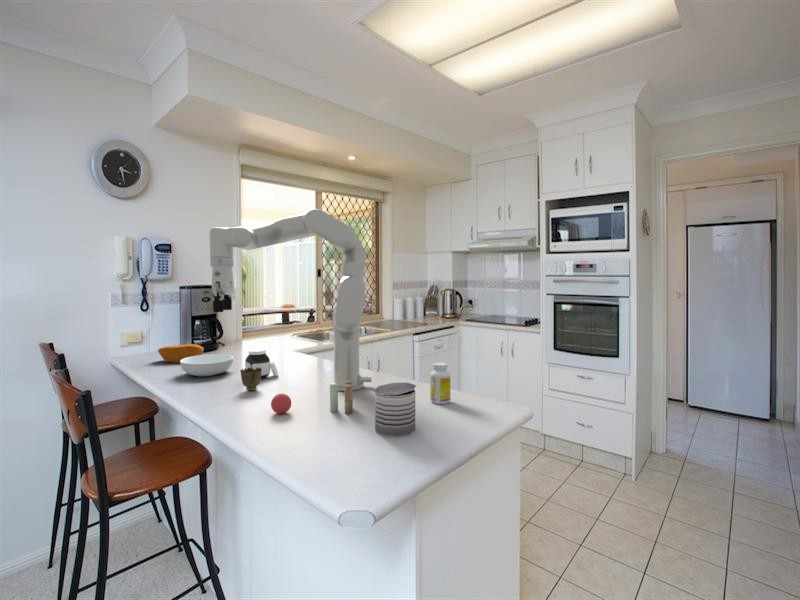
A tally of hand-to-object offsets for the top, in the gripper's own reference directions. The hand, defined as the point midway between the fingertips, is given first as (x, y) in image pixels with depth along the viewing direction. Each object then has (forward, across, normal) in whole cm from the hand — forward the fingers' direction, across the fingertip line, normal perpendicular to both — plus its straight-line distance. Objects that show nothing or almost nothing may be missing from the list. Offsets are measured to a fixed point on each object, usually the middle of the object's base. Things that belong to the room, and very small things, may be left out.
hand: (222, 310), depth 147 cm
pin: (+30, -27, -45) cm, 60 cm away
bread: (+30, +64, +40) cm, 81 cm away
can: (+30, -42, -58) cm, 77 cm away
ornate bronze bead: (+30, +3, -9) cm, 31 cm away
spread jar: (+30, +24, -8) cm, 39 cm away
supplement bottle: (+30, -19, -75) cm, 83 cm away
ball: (+27, -25, -24) cm, 44 cm away
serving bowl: (+30, +32, +17) cm, 47 cm away
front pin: (+30, -25, -40) cm, 56 cm away
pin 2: (+30, -22, -45) cm, 58 cm away
